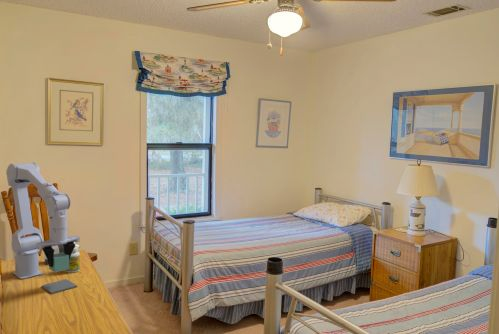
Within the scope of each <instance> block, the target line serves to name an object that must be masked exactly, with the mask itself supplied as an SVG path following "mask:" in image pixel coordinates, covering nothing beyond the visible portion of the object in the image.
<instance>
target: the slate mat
mask: <svg viewBox="0 0 499 334" xmlns="http://www.w3.org/2000/svg"><path fill="white" fill-rule="evenodd" d="M41 288H42V289H44V290H45V291H47V292H48V293H50V294H51V295H54V294H57V293H60V292H64V291H67V290H72V289H75V288H78V285H77V284H76V283H75V282H72V281H70V280H69V279H67V278H65V279H60V280H57V281H52V282H49V283H46V284H43V285H41Z"/></svg>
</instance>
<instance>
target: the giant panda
mask: <svg viewBox="0 0 499 334" xmlns="http://www.w3.org/2000/svg"><path fill="white" fill-rule="evenodd" d="M74 244H75V247H78V250H79V249H80V248H81V245H79V244H77V242H74ZM52 249H54V254H58V253H64V247H63V244H62V245H57V246H52ZM43 254H44V255H43V256H44V257H43V258H44V263H45V265H49V263H48V260H47V257H46V255H45V253H44V252H43Z"/></svg>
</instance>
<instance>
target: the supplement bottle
mask: <svg viewBox="0 0 499 334" xmlns="http://www.w3.org/2000/svg"><path fill="white" fill-rule="evenodd" d="M80 270H81V254H80V252H79V249H78V247H75V248H74V249H73V251H72V253H71V256H70V260H69V269H66V270H65V272H66V273H69V274H72V273H73V274H74V273H78V272H79V271H80Z"/></svg>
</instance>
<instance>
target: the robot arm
mask: <svg viewBox="0 0 499 334" xmlns="http://www.w3.org/2000/svg"><path fill="white" fill-rule="evenodd" d="M5 171H6V178H7V179H6V180H7V184H8V186H10V187H11V189H12V195H13V200H14V207H15V214H16V221H17V226H18V229H17V230H16V231H15V232H14V233H12V235H11V250H12V252H14V253H15V255H14V271H12V273H13V275H15V276H16V277H18V278H19V279H21V280H23V279H28V278H31V277H36V276H40V275H43V272H42V271H41V270H40V267H39V261H40V260H39V252H41V250H42V252H43V254H44V253H45V255H46V257H47V260H48V263H49V264H48V267H49V266H50V267H53V255H54V249H52V246H57V245H62V244H63V247H64V253H65V254H67V255H69V260H70V256H71V253H72V251H73V249H74V248H75V244H74V242H75V243H78V242H80V236H79V235H74V236H68V210H69V209H70V208H71V207H70V206H71V199H70V196H69V194H67V193H64V192H60V191H59V190H58V189H57V188H56V187H55V186H54V184H53V183H52V182H47V181H46V179H44V177H43V176H42V174H41V173H40V166H39V165H38V164H37V163H36V162H27V163H26V162H24V163H23V162H22V163H9V164H8V166H7V168H6V170H5ZM31 184H32V185H34V186H35V187H36V188H37V194H38V195H39V196H40V197H41V199H42V200H43V201H44V202H45V208H46V211H47V216H48V217H49V219H48V220H49V239H47V240H44V237H43V236H42V233H41V230H40V229H39V228H37V227H35V226H34V222H33V217H32V210H31V204H30V198H29V197H30V196H29V191H28V187H29V185H31Z"/></svg>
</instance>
